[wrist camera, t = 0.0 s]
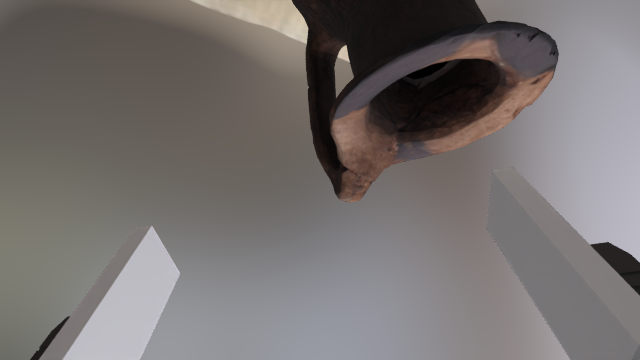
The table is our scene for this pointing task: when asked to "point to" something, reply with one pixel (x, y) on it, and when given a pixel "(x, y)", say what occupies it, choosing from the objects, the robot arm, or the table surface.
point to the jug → (413, 81)
